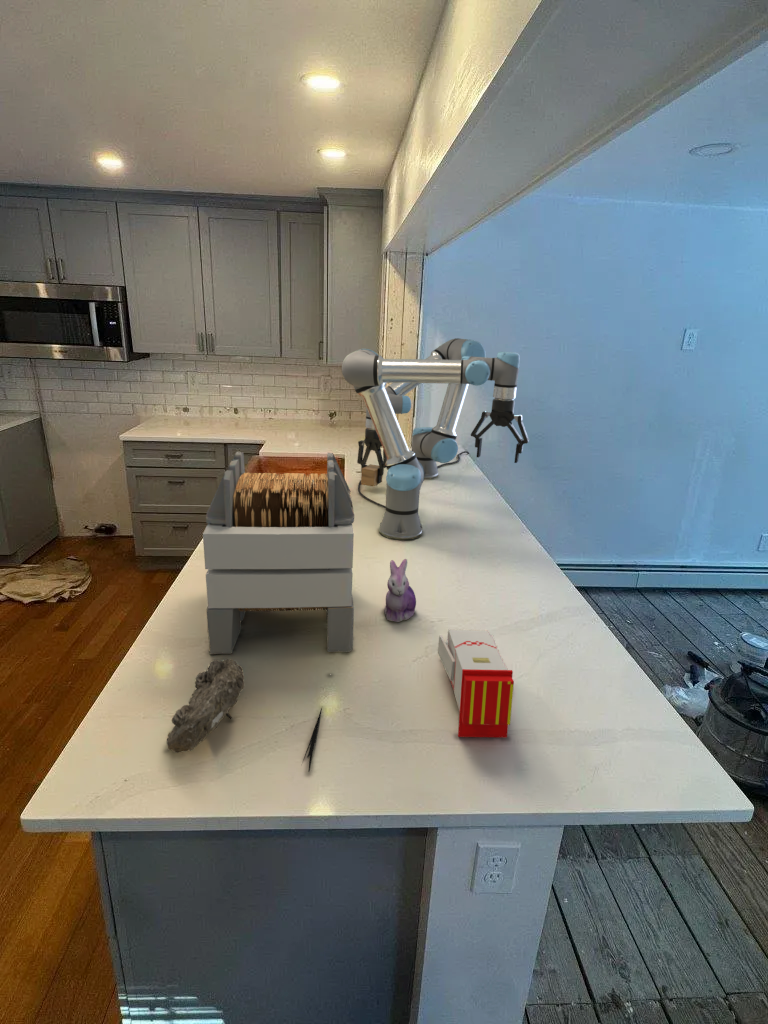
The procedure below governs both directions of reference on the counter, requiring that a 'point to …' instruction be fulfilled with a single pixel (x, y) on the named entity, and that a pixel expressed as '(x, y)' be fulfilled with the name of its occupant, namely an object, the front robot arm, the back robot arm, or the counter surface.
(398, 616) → the figurine
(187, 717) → the fossil
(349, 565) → the grey record crate
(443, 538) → the counter surface
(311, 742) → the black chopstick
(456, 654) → the toy
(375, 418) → the front robot arm
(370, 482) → the brown cardboard box
